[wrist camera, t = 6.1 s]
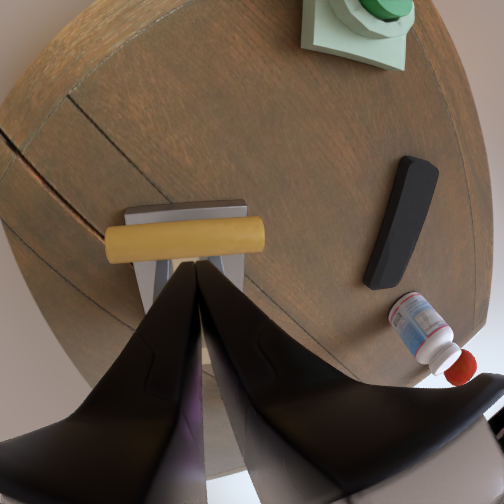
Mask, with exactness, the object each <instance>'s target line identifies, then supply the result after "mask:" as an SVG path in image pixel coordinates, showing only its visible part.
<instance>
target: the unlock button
mask: <svg viewBox="0 0 504 504" xmlns="http://www.w3.org/2000/svg"><path fill="white" fill-rule="evenodd" d="M359 1H360V3H361V4H362V6H363V7H364V8H365V9H366V10H367V11H368V12H369V13H371V14H372V15H374V16H376V17H378V18H382V19H390V18H396V17H403V16H406V15H408V14H409V13H410V12H411V9H412V0H359Z"/></svg>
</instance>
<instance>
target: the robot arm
mask: <svg viewBox="0 0 504 504" xmlns="http://www.w3.org/2000/svg"><path fill="white" fill-rule="evenodd" d="M195 267H196V268H195ZM200 317H201V318H200ZM201 325H202V327H201ZM202 331H203V335H204V339H205V343H206V346H207V350H208V353H209V357H210V360H211V364H212V367H213V371H214V374H215V377H216V380H217V384H218V387H219V390H220V393H221V396H222V399H223V403H224V406H225V409H226V412H227V415H228V418H229V421H230V423H231V426H232V429H233V432H234V435H235V438H236V440H237V443H238V446H239V449H240V451H241V454H242V457H243V458H244V462H245V465H246V467H247V470H248V473H249V475H250V478H251V480H252V483H253V485H254V487H255V490H256V492H257V495H258V497H259V499H260V502H261V504H504V406H503V407H502V408H501V409H500V410H499V411H498V412H497V413H496V414H495V415H494V416H492V417H491V418H490V419H489V420H488V421H487V420H486V418H485V417H484V415H483V413H484V412H485V411H486V410H488V408H490V407H491V406H492V405H493V404H494V403H495V402H496V401H497V400H498V399H499V398H500V397H502V396H503V395H504V375H500V374H492V373H481V374H479V375H478V376H476V377H475V378H474V379H472V380H471V381H469V382H468V383H466V384H464V385H460V386H457V387H451V388H436V389H435V388H408V387H392V386H380V385H370V384H365V383H362V382H359V381H356V380H354V379H352V378H350V377H348V376H347V375H345V374H343V373H342V372H340V371H339V370H337V369H336V368H334V367H333V366H331V365H330V364H328V363H327V362H325V361H324V360H322V359H321V358H320V357H318V356H317V355H315V354H314V353H312V352H311V351H309V350H308V349H307V348H305V347H304V346H303V345H301V344H300V343H299V342H297V341H296V340H294V339H293V338H292V337H291V336H290V335H288V334H287V333H286V332H285V331H284V330H283V329H281V328H280V327H279V326H278V325H277V324H276V323H275V322H274V321H273V320H271V319H270V318H269V317H268V316H267V315H266V314H265V313H264V312H263V311H262V310H261V309H260V308H258V307H257V306H256V305H255V304H254V303H253V302H252V301H251V300H250V299H249V298H248V297H247V296H246V295H245V294H244V293H243V292H242V291H241V290H239V289H238V288H237V287H236V286H235V285H234V284H233V283H232V282H231V281H230V280H229V279H228V278H227V277H226V276H225V275H224V274H223V273H222V272H221V271H220V270H219V269H218V268H217V267H216V266H215V265H214V264H213V263H212V262H211V261H209V260H197V261H196V262H194V261H185V262H181V263H180V264H179V266H178V267H177V269H176V270H175V272H174V273H173V274H172V276H171V277H170V279H169V280H168V282H167V283H166V285H165V286H164V288H163V289H162V291H161V292H160V294H159V295H158V297H157V298H156V300H155V301H154V303H153V304H152V306H151V307H150V309H149V310H148V312H147V314H146V315H145V317H144V318H143V320H142V321H141V323H140V324H139V326H138V328H137V329H136V331H135V333H134V334H133V335H132V337H131V338H130V340H129V342H128V343H127V345H126V346H125V348H124V349H123V351H122V352H121V354H120V355H119V356H118V358H117V359H116V360H115V362H114V363H113V364H112V366H111V367H110V368H109V370H108V371H107V372H106V374H105V375H104V376H103V377H102V379H101V380H100V381H99V382H98V384H97V385H96V386H95V387H94V389H93V390H92V391H91V393H90V394H89V395H88V397H87V398H86V399H85V400H84V402H83V403H82V404H81V405H80V406H79V408H78V409H77V410H76V411H75V412H74V413H72V414H71V415H70V416H69V417H67V418H65V419H64V420H61V421H59V422H57V423H54V424H52V425H49V426H46V427H43V428H41V429H38V430H35V431H33V432H30V433H27V434H24V435H22V436H18V437H15V438H13V439H9V440H6V441H3V442H0V493H1V494H2V497H1V498H2V500H1V501H2V503H0V504H208V503H207V490H206V476H205V464H204V463H205V460H204V439H203V408H202Z"/></svg>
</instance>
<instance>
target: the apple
mask: <svg viewBox="0 0 504 504" xmlns="http://www.w3.org/2000/svg"><path fill="white" fill-rule="evenodd" d="M476 369H477V363H476V360H475V358H474V357H473V355H472V354H471V353H470V352H469V351H466V350H464V349H461V354H460V356H459V358H458V359H457V360H456V361H455V362H454V363H453V364H452V365H451V366H450V367H449V368H448V369H447V370H446V371H444V375H445V377H446V379H447V381H448V382H450V383H451V384H452V385H454V386H460V385H463V384H465V383H466V382H467V381H469V380H470V379H471V378H472V376H473V375H474V373H475V372H476Z"/></svg>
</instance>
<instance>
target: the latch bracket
mask: <svg viewBox="0 0 504 504" xmlns="http://www.w3.org/2000/svg"><path fill="white" fill-rule="evenodd" d="M124 217H125V223H126V225H134V224H146V223H158V222H170V221H184V220H198V219H214V218H231V217H247V205H246V203H245V201H244V200H226V201H207V202H191V203H176V204H163V205H151V206H140V207H129V208H127V209H126V212H125V214H124ZM199 259H200V260H209V261H211V262H212V263H213V264H214V265H215V266H216V267H217V268H218V269H219V270H220V271H221V272H222V273H223V274H224V275H225V276H226V277H227V278H228V279H229V280H230V281H231V282H232V283H233V284H234V285H235V286H236V287H237V288H238V289H239V290H241V291H242V292H243V285H244V263H245V254H234V255H221V256H209V257H199ZM133 265H134V270H135V274H136V279H137V283H138V287H139V291H140V295H141V299H142V303H143V307H144V311H145V314H147V312H148V310H149V309H150V307H151V306H152V304H153V303H154V301H155V300H156V298H157V297H158V295H159V294H160V292H161V291H162V289H163V288H164V286H165V285H166V283H167V282H168V280H169V279H170V277H171V276H172V274H173V273H174V272H173V266H172V260H171V259H170V260H157V261H144V262H133Z"/></svg>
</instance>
